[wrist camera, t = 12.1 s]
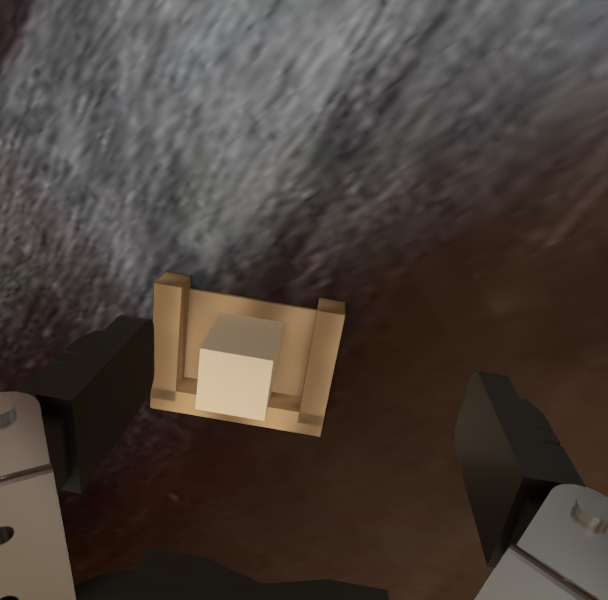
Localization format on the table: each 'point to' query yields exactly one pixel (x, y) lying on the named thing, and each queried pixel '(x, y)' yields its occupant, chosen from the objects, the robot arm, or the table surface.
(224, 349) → the block
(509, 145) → the table surface
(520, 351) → the table surface
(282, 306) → the rest cradle
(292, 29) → the table surface
